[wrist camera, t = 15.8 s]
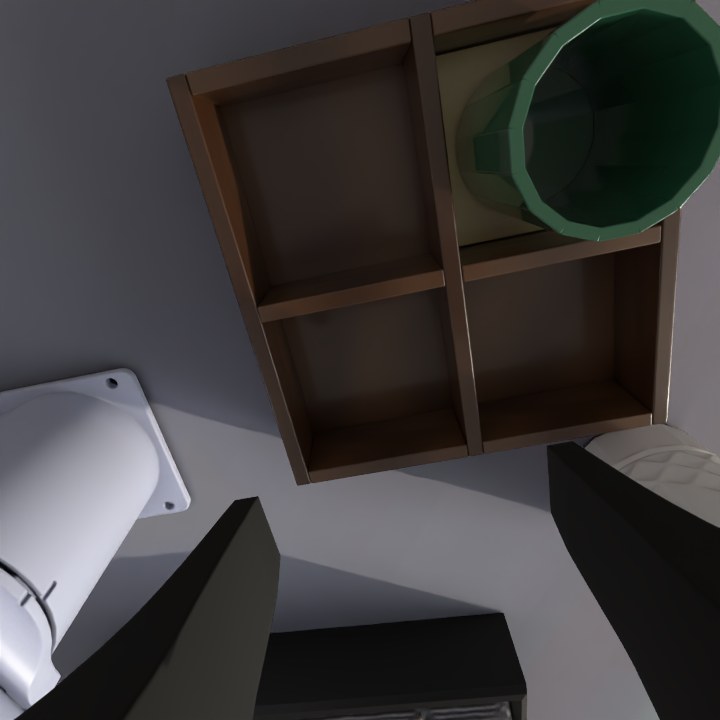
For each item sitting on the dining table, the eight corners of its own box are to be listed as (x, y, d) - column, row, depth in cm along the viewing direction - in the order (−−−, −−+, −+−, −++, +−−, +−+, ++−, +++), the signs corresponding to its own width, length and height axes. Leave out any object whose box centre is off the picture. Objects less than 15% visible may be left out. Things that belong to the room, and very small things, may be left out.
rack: (306, 438, 22) (296, 486, 19) (203, 94, 16) (164, 77, 13) (619, 382, 21) (667, 423, 18) (626, -10, 15) (700, -57, 12)
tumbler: (463, 226, 17) (517, 258, 12) (446, 76, 16) (500, 22, 10) (596, 197, 17) (724, 216, 11) (596, 41, 15) (750, -39, 9)
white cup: (630, 380, 21) (841, 550, 12) (745, 457, 23) (1009, 658, 13) (518, 497, 24) (620, 710, 14) (629, 558, 25) (783, 784, 16)
